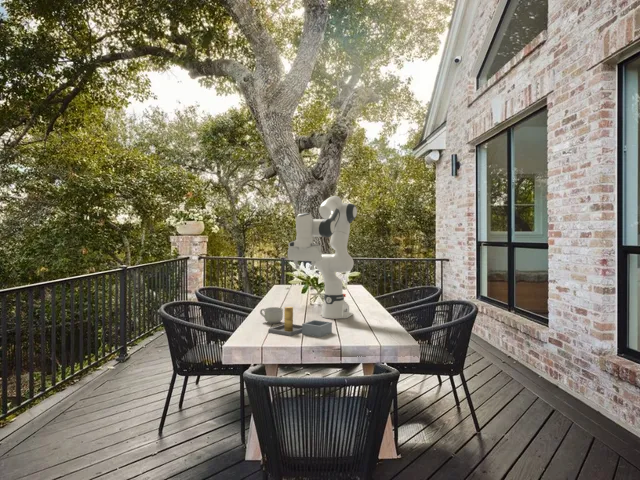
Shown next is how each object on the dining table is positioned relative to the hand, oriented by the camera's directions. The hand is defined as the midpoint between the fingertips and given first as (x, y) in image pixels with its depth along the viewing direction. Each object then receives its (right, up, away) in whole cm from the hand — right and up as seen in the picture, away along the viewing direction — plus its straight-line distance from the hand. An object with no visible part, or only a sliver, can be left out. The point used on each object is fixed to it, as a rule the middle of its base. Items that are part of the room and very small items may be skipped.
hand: (304, 269), depth 216 cm
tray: (-8, -33, -5) cm, 34 cm away
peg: (-8, -32, -5) cm, 33 cm away
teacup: (-20, -33, +19) cm, 43 cm away
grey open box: (+7, -33, -9) cm, 35 cm away
